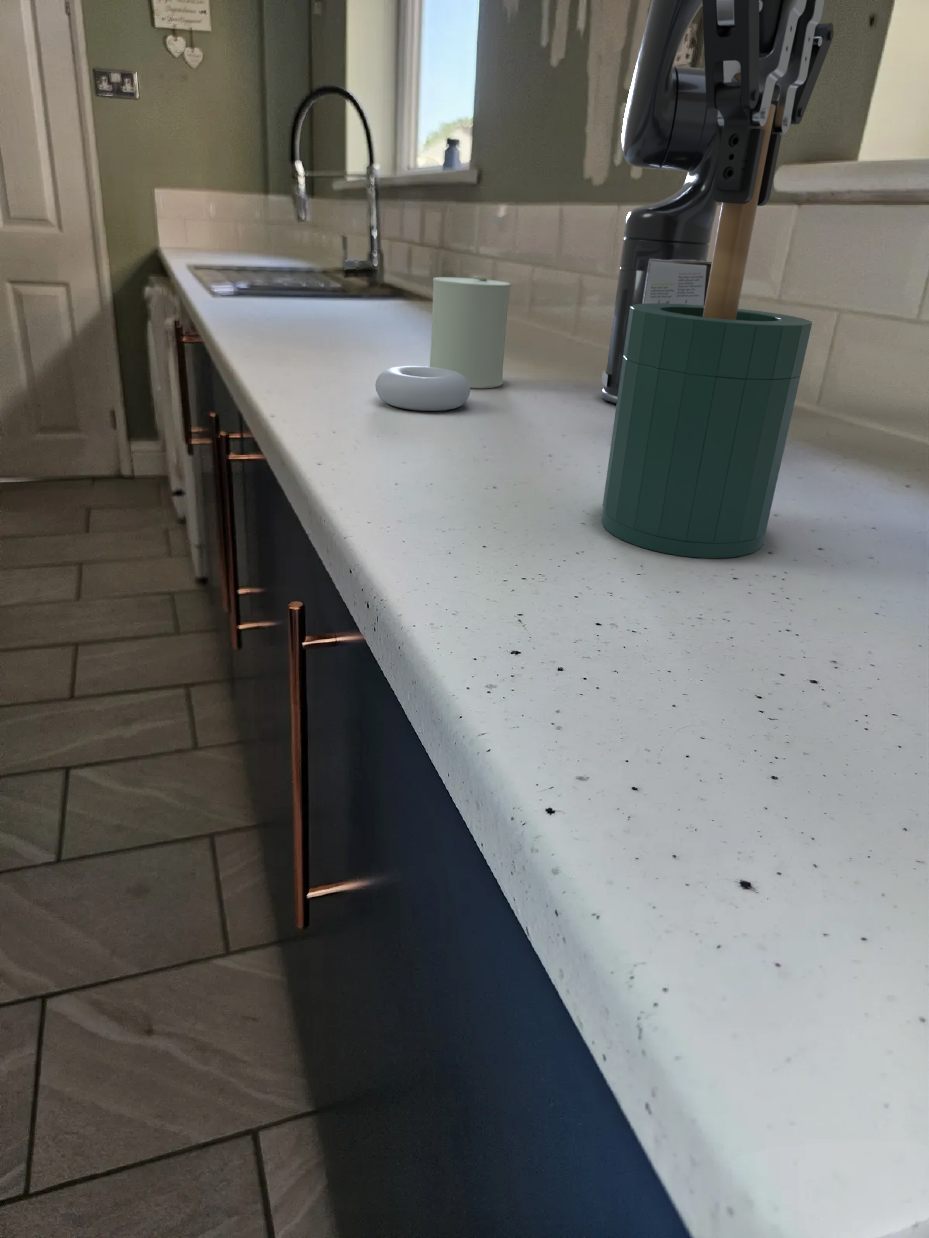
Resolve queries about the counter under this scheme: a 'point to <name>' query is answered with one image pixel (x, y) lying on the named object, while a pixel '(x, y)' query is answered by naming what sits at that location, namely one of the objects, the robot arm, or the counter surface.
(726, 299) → the brush
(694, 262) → the coffee box
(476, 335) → the can
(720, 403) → the green utensil holder
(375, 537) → the counter surface
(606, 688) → the counter surface
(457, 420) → the counter surface
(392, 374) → the donut
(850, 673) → the counter surface
